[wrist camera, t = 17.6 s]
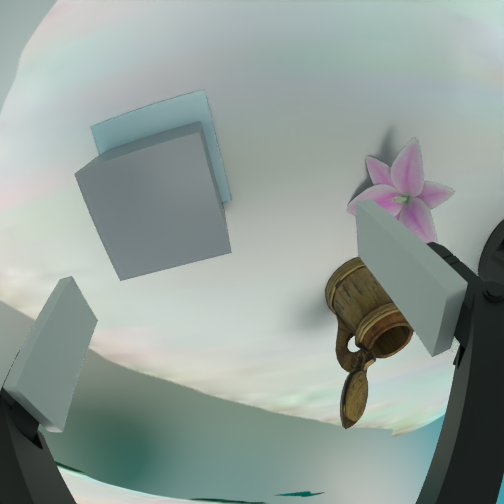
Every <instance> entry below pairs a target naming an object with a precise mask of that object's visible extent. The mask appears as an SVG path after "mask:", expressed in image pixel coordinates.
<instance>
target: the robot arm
mask: <svg viewBox="0 0 504 504" xmlns="http://www.w3.org/2000/svg"><path fill="white" fill-rule="evenodd" d="M355 211H356V224H357V240H358V256H359V257H360V259H361V260H362V261H363V262H364V264H365V265H366V266H367V267H368V269H369V270H370V271H371V273H372V274H373V275H374V277H375V278H376V279H377V280H378V282H379V283H380V284H381V286H382V287H383V288H384V290H385V291H386V292H387V294H388V295H389V296H390V298H391V299H392V300H393V302H394V303H395V305H396V306H397V307H398V309H399V310H400V311H401V313H402V314H403V316H404V317H405V318H406V320H407V321H408V323H409V324H410V325H411V327H412V328H413V330H414V331H415V332H416V334H417V335H418V337H419V338H420V340H421V341H422V343H423V344H424V346H425V347H426V348H427V350H428V351H429V353H430V354H431V356H432V357H433V356H435V355H438V354H440V353H442V352H444V351H446V350H448V349H450V348H451V345H452V341H453V338H454V336H455V338H456V339H457V340H458V341H459V343H460V345H459V348H458V351H457V354H456V357H455V360H454V362H453V365H455V371H454V377H453V382H452V387H451V392H450V397H449V401H448V406H447V410H446V414H445V418H444V422H443V425H442V429H441V433H440V436H439V440H438V443H437V446H436V450H435V453H434V456H433V459H432V462H431V465H430V468H429V471H428V474H427V476H426V479H425V482H424V484H423V487H422V489H421V492H420V494H419V497H418V499H417V502H416V504H496V502H497V498H498V494H499V490H500V487H501V483H502V479H503V474H504V220H503V221H502V222H501V223H500V224H499V225H498V227H497V228H496V229H495V230H494V232H493V233H492V235H491V236H490V238H489V240H488V242H487V244H486V246H485V248H484V251H483V253H482V256H481V260H480V264H479V277H478V276H477V275H476V274H474V273H473V272H472V271H471V270H470V269H469V268H468V267H467V266H466V265H465V264H464V263H462V262H460V260H459V259H458V258H457V257H456V256H453V254H452V253H451V252H450V251H449V250H448V249H446V248H445V247H444V246H442V245H439V244H437V243H435V242H429V243H426V244H425V243H424V242H423V241H422V240H421V239H420V238H419V237H417V236H416V235H415V234H414V233H413V232H412V231H410V230H409V229H408V228H407V227H406V226H404V225H403V224H402V223H401V222H400V221H398V220H397V219H396V218H395V217H394V216H392V215H391V214H390V213H389V212H387V211H386V210H385V209H384V208H382V207H381V206H380V205H379V204H377V203H376V202H375V201H374V200H372V199H371V198H368V199H363V200H359V201H355ZM97 321H98V320H97V318H96V317H95V315H94V313H93V312H92V310H91V308H90V307H89V305H88V303H87V302H86V300H85V298H84V296H83V295H82V293H81V291H80V289H79V288H78V286H77V284H76V282H75V280H74V279H73V277H72V276H70V277H67V278H63V279H60V281H59V282H58V284H57V285H56V287H55V289H54V290H53V292H52V293H51V295H50V297H49V298H48V300H47V302H46V304H45V305H44V307H43V309H42V310H41V312H40V314H39V316H38V317H37V319H36V321H35V323H34V325H33V326H32V328H31V330H30V332H29V334H28V336H27V338H26V340H25V341H24V343H23V345H22V347H21V349H20V351H19V352H18V354H17V356H16V358H15V361H14V363H13V364H12V366H11V367H12V368H11V369H10V371H9V373H8V375H7V377H6V380H5V382H4V384H3V386H2V388H1V391H0V504H76V502H75V500H74V498H73V497H72V495H71V493H70V491H69V489H68V487H67V485H66V484H65V482H64V480H63V478H62V476H61V474H60V472H59V470H58V468H57V465H56V463H55V461H54V459H53V457H52V455H51V452H50V450H49V448H48V446H47V444H46V441H45V438H44V436H43V435H42V433H41V432H40V431H39V430H38V426H39V423H40V424H41V425H42V426H43V427H44V428H46V429H47V430H48V431H49V432H63V429H64V425H65V421H66V418H67V414H68V410H69V406H70V403H71V399H72V396H73V392H74V389H75V386H76V383H77V379H78V376H79V373H80V370H81V367H82V364H83V361H84V358H85V355H86V352H87V349H88V346H89V343H90V340H91V337H92V335H93V332H94V329H95V326H96V324H97Z"/></svg>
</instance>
